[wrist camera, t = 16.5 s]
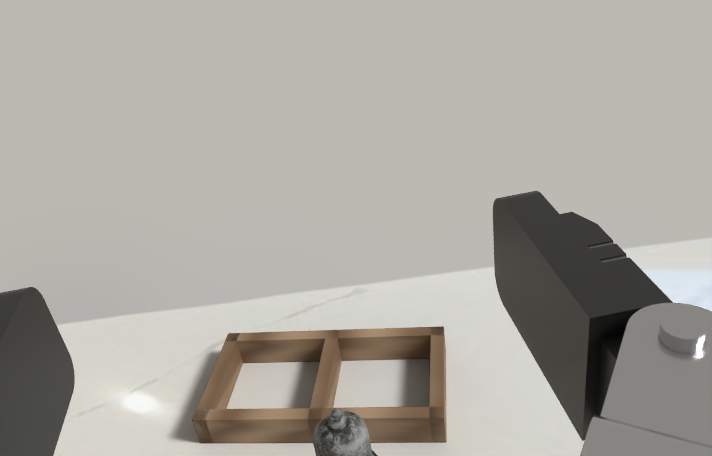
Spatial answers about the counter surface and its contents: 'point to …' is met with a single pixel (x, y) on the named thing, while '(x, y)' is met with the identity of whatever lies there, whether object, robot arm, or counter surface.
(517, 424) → the counter surface
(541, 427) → the counter surface
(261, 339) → the spice caddy
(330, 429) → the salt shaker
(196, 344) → the counter surface
